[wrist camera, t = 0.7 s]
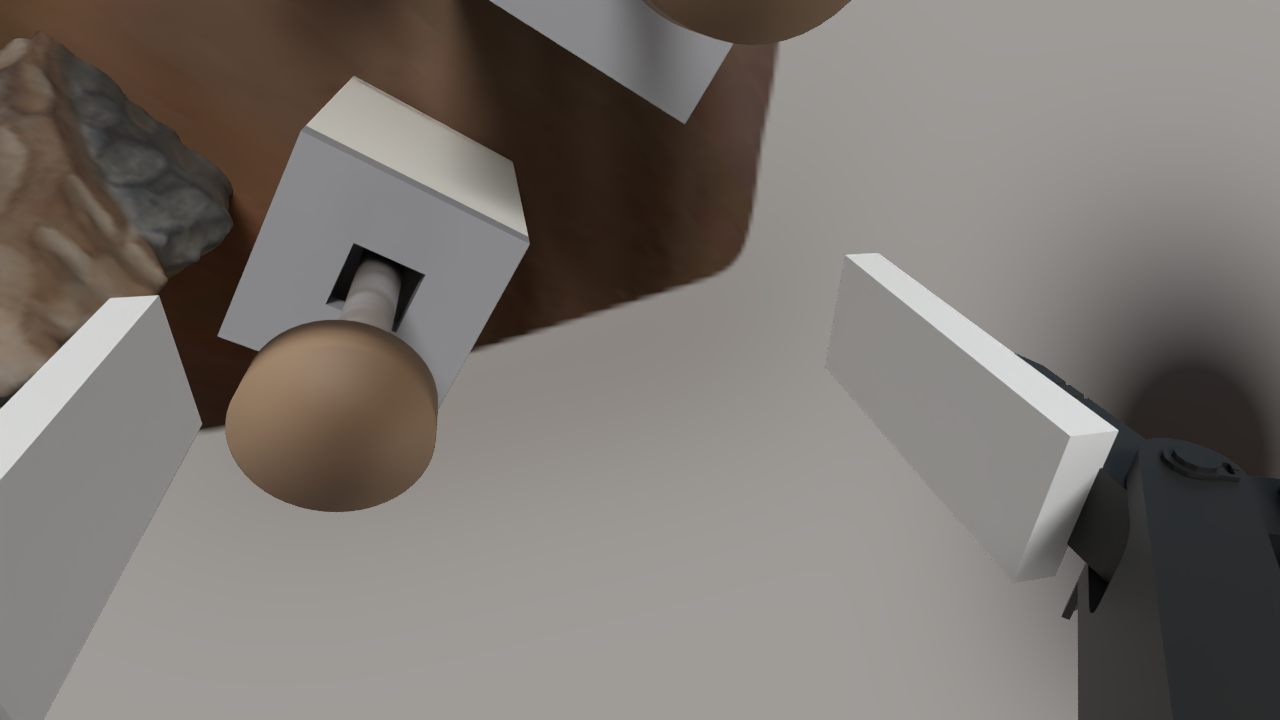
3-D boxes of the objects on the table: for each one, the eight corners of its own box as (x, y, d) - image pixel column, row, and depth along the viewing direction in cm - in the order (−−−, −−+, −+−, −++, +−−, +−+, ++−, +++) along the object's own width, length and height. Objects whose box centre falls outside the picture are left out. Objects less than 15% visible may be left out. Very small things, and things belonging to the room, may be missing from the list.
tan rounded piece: (284, 283, 35) (169, 486, 22) (340, 153, 33) (250, 290, 19) (424, 339, 38) (399, 549, 25) (485, 224, 36) (494, 386, 22)
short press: (290, 225, 44) (217, 336, 31) (353, 75, 41) (300, 130, 28) (444, 292, 48) (434, 415, 35) (512, 161, 45) (529, 244, 32)
